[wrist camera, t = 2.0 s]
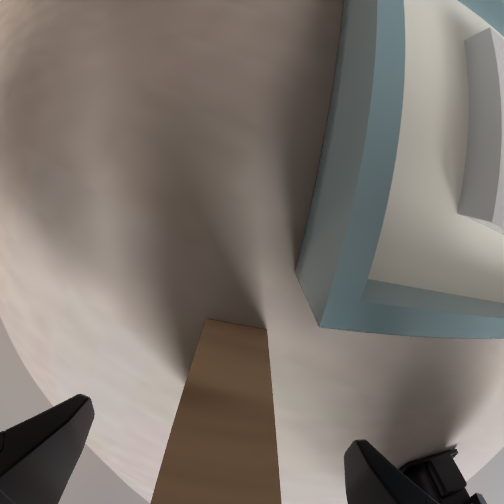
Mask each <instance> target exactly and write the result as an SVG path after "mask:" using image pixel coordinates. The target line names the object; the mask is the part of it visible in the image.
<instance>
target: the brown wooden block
mask: <svg viewBox="0 0 504 504" xmlns="http://www.w3.org/2000/svg"><path fill="white" fill-rule="evenodd" d="M151 504H281V492H280V479H279V466H278V454H277V441H276V429H275V417H274V405H273V393H272V382H271V370H270V359H269V348H268V337H267V329H261V328H255V327H249V326H243V325H237V324H232V323H226V322H221V321H216V320H211V319H206V320H205V323H204V326H203V329H202V333H201V336H200V339H199V342H198V345H197V348H196V351H195V354H194V358H193V361H192V364H191V367H190V370H189V373H188V377H187V380H186V383H185V386H184V390H183V393H182V396H181V399H180V403H179V406H178V409H177V413H176V416H175V419H174V423H173V426H172V429H171V433H170V436H169V440H168V443H167V447H166V450H165V454H164V457H163V461H162V464H161V468H160V471H159V475H158V478H157V482H156V486H155V489H154V493H153V497H152V500H151Z"/></svg>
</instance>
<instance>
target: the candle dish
mask: <svg viewBox="0 0 504 504" xmlns="http://www.w3.org/2000/svg"><path fill="white" fill-rule="evenodd" d="M295 274H296V276H297V278H298V280H299V283H300V285H301V287H302V289H303V292H304V294H305V296H306V298H307V301H308V303H309V305H310V307H311V310H312V312H313V314H314V317H315V319H316V321H317V324H318V326H319V327H322V328H330V329H338V330H347V331H356V332H366V333H377V334H388V335H401V336H416V337H434V338H463V339H504V0H344V3H343V13H342V22H341V31H340V39H339V47H338V55H337V62H336V69H335V76H334V83H333V89H332V96H331V102H330V108H329V114H328V120H327V125H326V131H325V136H324V142H323V147H322V152H321V158H320V163H319V168H318V173H317V178H316V183H315V188H314V192H313V197H312V202H311V206H310V211H309V215H308V220H307V224H306V229H305V233H304V237H303V242H302V246H301V250H300V254H299V258H298V263H297V267H296V271H295Z"/></svg>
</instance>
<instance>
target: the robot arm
mask: <svg viewBox="0 0 504 504" xmlns="http://www.w3.org/2000/svg"><path fill="white" fill-rule="evenodd" d="M93 419H94V409H93V405H92V401H91V399H90V397H88V396H85V395H83V394H78V395H76V396H74V397H72V398H70V399H68V400H66V401H64V402H62V403H60V404H58V405H56V406H54V407H52V408H50V409H48V410H46V411H44V412H42V413H40V414H38V415H36V416H34V417H32V418H30V419H28V420H26V421H24V422H22V423H20V424H18V425H15V426H14V427H11V428H9V429H7V430H6V431H2V432H0V504H58V502H59V500H60V498H61V496H62V494H63V491H64V489H65V487H66V485H67V482H68V480H69V478H70V476H71V474H72V472H73V470H74V467H75V465H76V463H77V461H78V459H79V457H80V455H81V453H82V450H83V448H84V445H85V442H86V439H87V436H88V433H89V430H90V427H91V425H92V422H93ZM457 454H458V451H457V449H454V450H451V451H448V452H445V453H442V454H439V455H435V456H432V457H428V458H425V459H421V460H417V461H413V462H410V463H408V464H406V465H405V466H404V467H403V468H402V469H401V470H400V471H399V470H398V469H397V468H396V467H395V466H394V465H393V464H392V463H390V462H389V461H388V460H387V459H386V458H385V457H384V456H383V455H382V454H381V453H379V452H378V451H377V450H376V449H375V448H374V447H373V446H372V445H371V444H370V443H369V442H368V441H366V440H355V441H353V442H352V444H351V445H350V447H349V448H348V449H347V451H346V452H345V455H344V467H345V486H346V495H347V501H348V504H487V503H486V501H485V499H484V498H483V496H482V495H481V494H478V493H475V494H474V495H473V496H471V497H470V496H469V494H468V493H467V491H466V489H465V486H466V485H467V484H466V481H465V479H464V478H463V476H462V474H461V472H460V470H459V469H458V467H457V465H456V463H455V462H454V460H453V458H454V457H455V456H456V455H457Z"/></svg>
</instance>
